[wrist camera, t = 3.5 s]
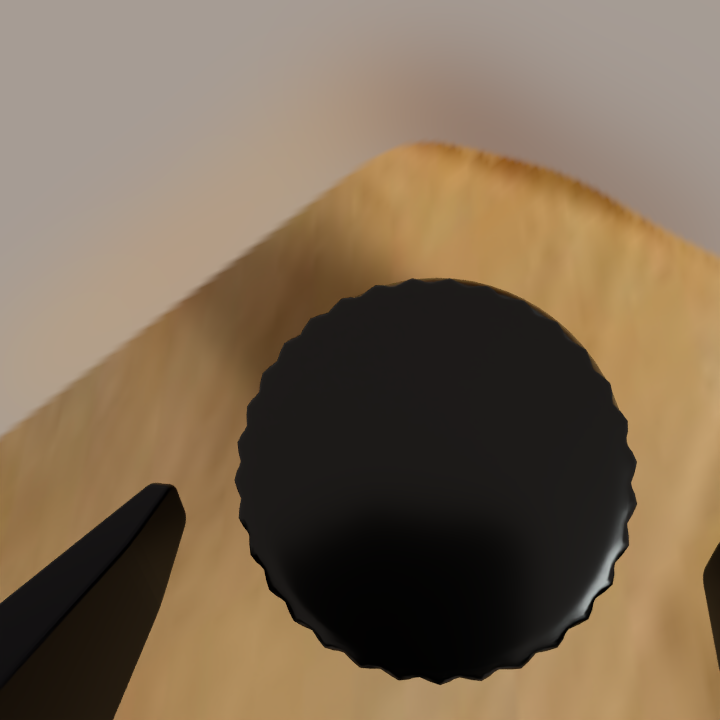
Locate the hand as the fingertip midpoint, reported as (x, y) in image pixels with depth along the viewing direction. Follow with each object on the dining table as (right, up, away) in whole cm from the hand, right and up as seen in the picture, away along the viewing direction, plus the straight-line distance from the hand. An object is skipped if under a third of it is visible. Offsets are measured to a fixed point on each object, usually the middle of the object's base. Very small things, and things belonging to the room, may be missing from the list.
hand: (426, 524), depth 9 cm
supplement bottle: (+1, 0, +9) cm, 9 cm away
